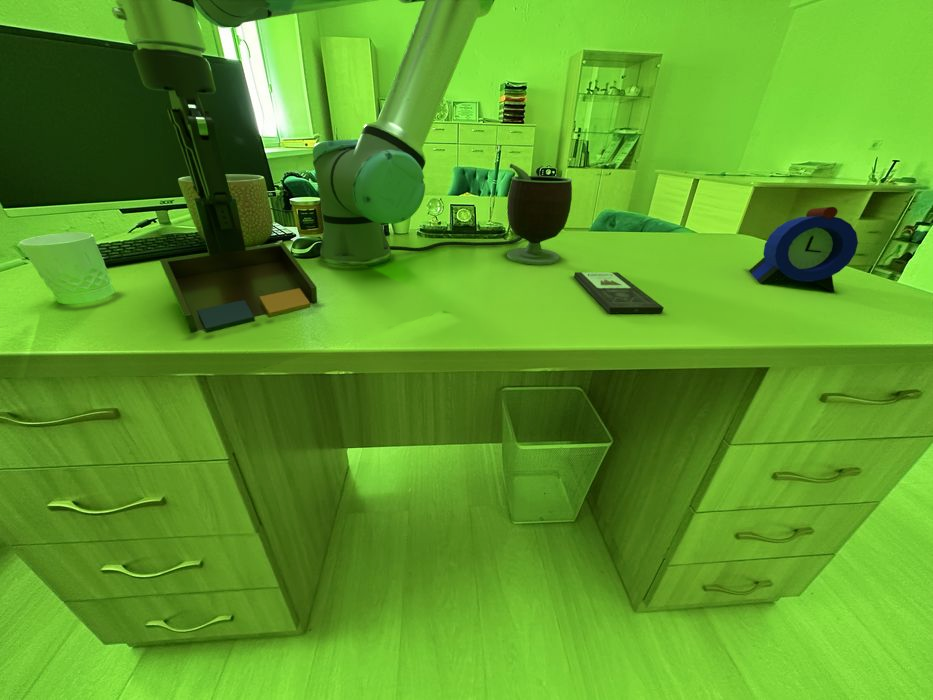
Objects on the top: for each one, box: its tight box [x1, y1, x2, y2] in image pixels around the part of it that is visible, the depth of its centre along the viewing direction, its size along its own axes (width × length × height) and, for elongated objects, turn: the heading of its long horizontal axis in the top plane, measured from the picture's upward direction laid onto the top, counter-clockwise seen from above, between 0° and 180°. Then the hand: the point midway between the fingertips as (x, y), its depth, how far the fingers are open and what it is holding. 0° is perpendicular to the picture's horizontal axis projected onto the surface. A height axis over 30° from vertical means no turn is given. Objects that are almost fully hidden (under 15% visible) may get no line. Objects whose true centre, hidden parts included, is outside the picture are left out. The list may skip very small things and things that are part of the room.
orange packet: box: [259, 288, 311, 318], centre depth 57 cm, size 6×4×1 cm, turn 131°
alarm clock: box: [748, 206, 859, 293], centre depth 73 cm, size 12×12×15 cm
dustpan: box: [159, 196, 318, 333], centre depth 53 cm, size 17×13×12 cm
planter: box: [177, 173, 274, 248], centre depth 88 cm, size 17×17×15 cm
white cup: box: [18, 231, 116, 305], centre depth 57 cm, size 8×8×10 cm
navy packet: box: [197, 300, 256, 333], centre depth 52 cm, size 6×4×1 cm, turn 131°
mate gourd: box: [506, 163, 573, 266], centre depth 83 cm, size 16×14×20 cm
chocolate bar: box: [573, 271, 664, 314], centre depth 68 cm, size 9×1×18 cm
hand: (227, 246), depth 56 cm, fingers open, 4 cm apart
